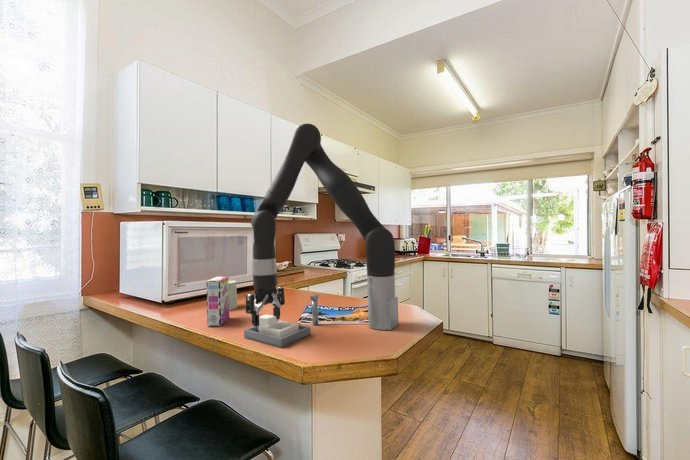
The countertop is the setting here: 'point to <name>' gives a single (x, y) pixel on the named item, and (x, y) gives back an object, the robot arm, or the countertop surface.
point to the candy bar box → (217, 301)
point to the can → (232, 295)
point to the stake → (315, 309)
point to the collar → (276, 326)
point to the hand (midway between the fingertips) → (266, 322)
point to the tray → (276, 341)
